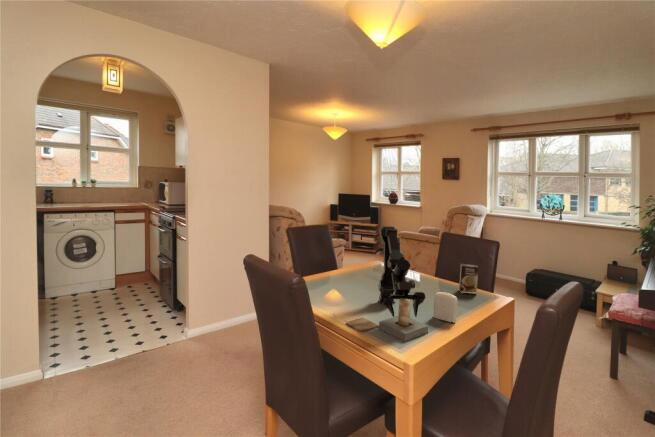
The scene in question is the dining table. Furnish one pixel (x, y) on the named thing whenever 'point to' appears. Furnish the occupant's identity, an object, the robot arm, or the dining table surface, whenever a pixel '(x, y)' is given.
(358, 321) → the mat
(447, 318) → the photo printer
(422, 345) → the dining table surface
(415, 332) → the holder
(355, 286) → the dining table surface
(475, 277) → the coffee box
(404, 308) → the dowel
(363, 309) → the dining table surface
